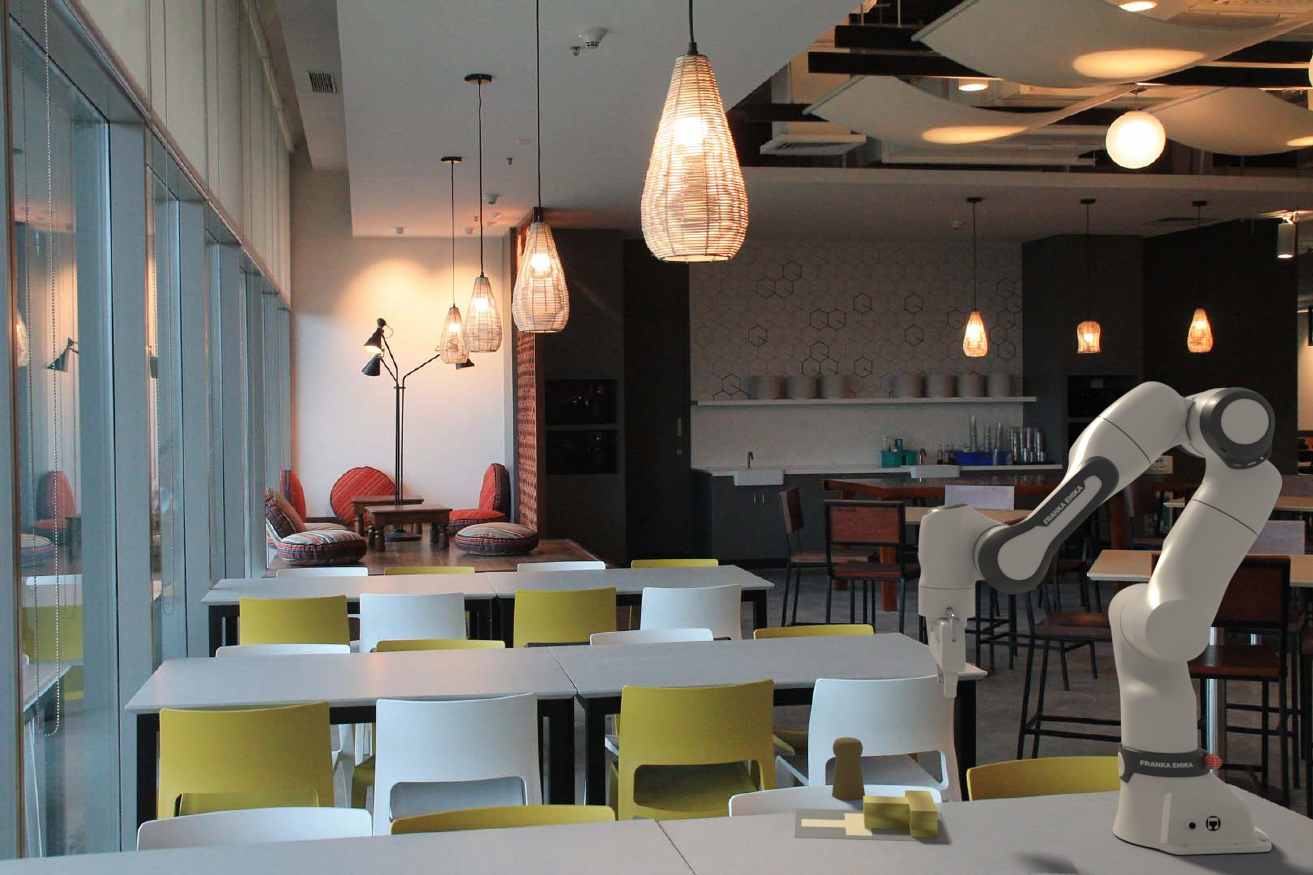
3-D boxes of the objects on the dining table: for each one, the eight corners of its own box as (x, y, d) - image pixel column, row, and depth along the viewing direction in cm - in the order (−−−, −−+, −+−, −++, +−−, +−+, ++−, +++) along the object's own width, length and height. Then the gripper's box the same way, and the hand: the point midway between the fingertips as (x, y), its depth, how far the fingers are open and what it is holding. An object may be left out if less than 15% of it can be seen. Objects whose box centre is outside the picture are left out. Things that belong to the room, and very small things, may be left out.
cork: (864, 796, 213) (863, 734, 213) (867, 806, 207) (866, 742, 207) (830, 796, 214) (829, 734, 214) (831, 805, 208) (831, 741, 208)
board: (941, 818, 199) (941, 812, 199) (952, 848, 184) (952, 841, 184) (796, 814, 203) (796, 808, 203) (794, 843, 187) (794, 837, 187)
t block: (930, 815, 198) (929, 790, 198) (937, 837, 186) (937, 811, 186) (862, 813, 199) (862, 789, 199) (865, 835, 187) (865, 809, 187)
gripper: (975, 612, 182) (975, 704, 181) (959, 598, 202) (959, 680, 202) (933, 611, 183) (933, 703, 182) (920, 597, 203) (920, 679, 202)
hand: (946, 691), depth 192 cm, fingers open, 8 cm apart
